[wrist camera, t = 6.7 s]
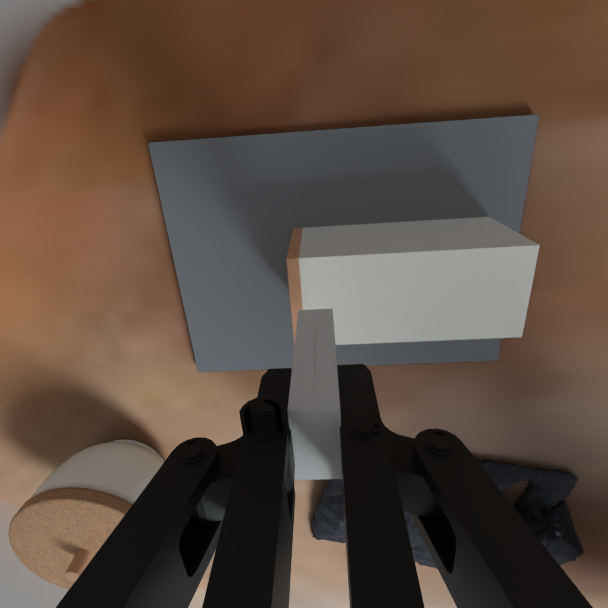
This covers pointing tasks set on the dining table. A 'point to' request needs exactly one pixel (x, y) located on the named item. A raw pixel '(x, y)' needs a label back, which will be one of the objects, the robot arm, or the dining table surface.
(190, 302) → the mat
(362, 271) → the block
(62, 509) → the lidded jar
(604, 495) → the dining table surface
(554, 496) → the dark slate chunk
